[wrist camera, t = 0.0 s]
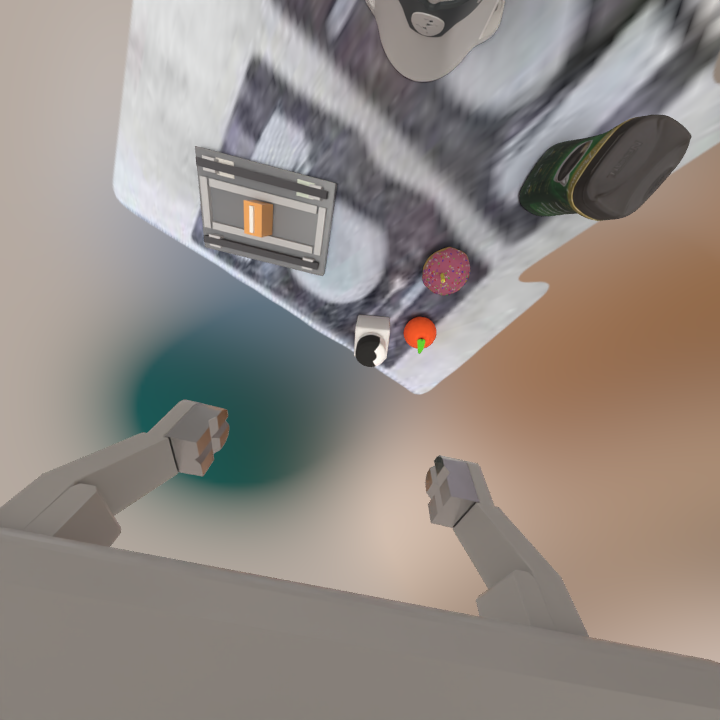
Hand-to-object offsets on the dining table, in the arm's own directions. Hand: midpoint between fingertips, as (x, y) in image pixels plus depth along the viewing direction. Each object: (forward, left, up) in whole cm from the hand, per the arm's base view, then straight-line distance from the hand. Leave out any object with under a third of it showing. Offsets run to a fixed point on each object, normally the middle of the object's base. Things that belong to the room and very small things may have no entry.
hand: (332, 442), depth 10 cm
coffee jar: (-17, +26, -48) cm, 57 cm away
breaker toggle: (-1, -21, -46) cm, 50 cm away
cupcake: (0, +14, -48) cm, 50 cm away
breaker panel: (-1, -21, -48) cm, 52 cm away
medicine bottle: (+17, +4, -48) cm, 51 cm away
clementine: (+14, +14, -48) cm, 52 cm away
